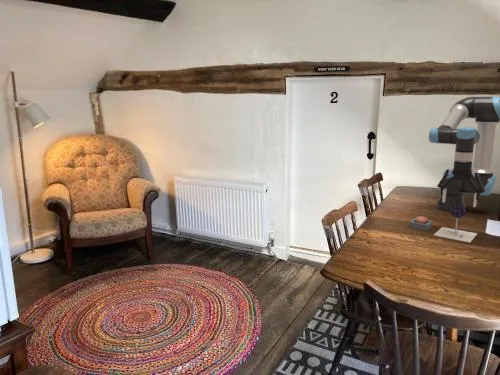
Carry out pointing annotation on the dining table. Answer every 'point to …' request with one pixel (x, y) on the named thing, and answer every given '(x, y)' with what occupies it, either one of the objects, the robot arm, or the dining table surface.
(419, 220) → the button
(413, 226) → the button housing
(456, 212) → the lollipop
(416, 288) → the dining table surface
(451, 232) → the paper pad
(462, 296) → the dining table surface
